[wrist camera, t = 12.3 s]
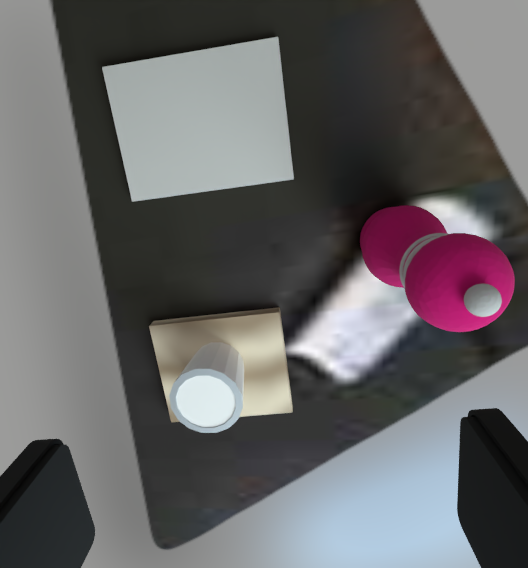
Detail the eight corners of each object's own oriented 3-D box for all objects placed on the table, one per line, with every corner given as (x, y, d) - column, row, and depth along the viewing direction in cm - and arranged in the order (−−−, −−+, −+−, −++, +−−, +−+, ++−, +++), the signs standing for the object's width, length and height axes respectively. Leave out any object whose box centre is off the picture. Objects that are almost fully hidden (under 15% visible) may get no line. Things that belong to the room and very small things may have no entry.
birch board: (153, 320, 43) (149, 326, 42) (279, 307, 42) (279, 312, 40) (174, 414, 46) (171, 422, 45) (292, 404, 45) (292, 412, 44)
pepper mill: (399, 285, 40) (501, 391, 21) (340, 250, 40) (390, 327, 21) (443, 225, 38) (597, 282, 19) (381, 187, 38) (478, 207, 19)
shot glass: (184, 387, 44) (166, 427, 37) (190, 331, 42) (171, 363, 35) (245, 397, 44) (237, 439, 37) (254, 342, 42) (247, 375, 35)
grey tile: (106, 69, 36) (101, 67, 35) (278, 40, 35) (278, 36, 34) (135, 200, 40) (132, 201, 39) (293, 179, 38) (293, 179, 37)
